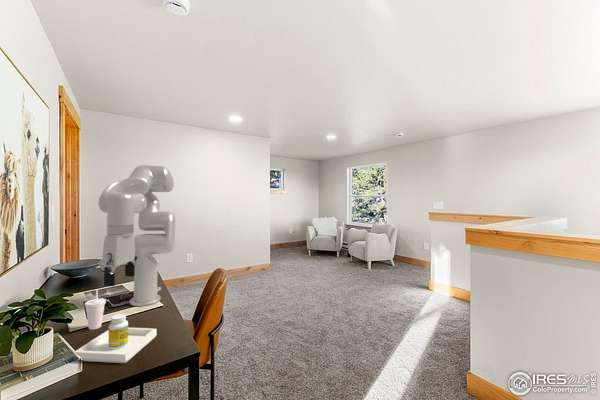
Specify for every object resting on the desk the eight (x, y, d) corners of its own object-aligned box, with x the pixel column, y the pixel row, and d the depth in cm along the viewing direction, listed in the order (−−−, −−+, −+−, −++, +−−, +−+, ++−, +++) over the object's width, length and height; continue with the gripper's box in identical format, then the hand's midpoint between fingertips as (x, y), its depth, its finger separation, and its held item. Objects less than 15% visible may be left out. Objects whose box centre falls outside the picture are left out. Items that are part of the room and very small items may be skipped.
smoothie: (94, 332, 98) (94, 293, 98) (79, 330, 99) (80, 292, 99) (109, 324, 104) (110, 287, 104) (95, 322, 105) (96, 286, 105)
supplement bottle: (115, 340, 91) (116, 312, 91) (131, 341, 91) (132, 312, 91) (104, 349, 86) (104, 319, 86) (121, 350, 86) (121, 320, 86)
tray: (112, 333, 97) (113, 326, 97) (156, 335, 96) (156, 328, 96) (73, 360, 81) (73, 352, 81) (125, 363, 80) (125, 354, 80)
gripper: (127, 226, 100) (126, 272, 100) (88, 233, 83) (88, 289, 83) (147, 227, 99) (146, 273, 100) (112, 234, 82) (112, 290, 83)
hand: (120, 280), depth 92 cm, fingers open, 9 cm apart
